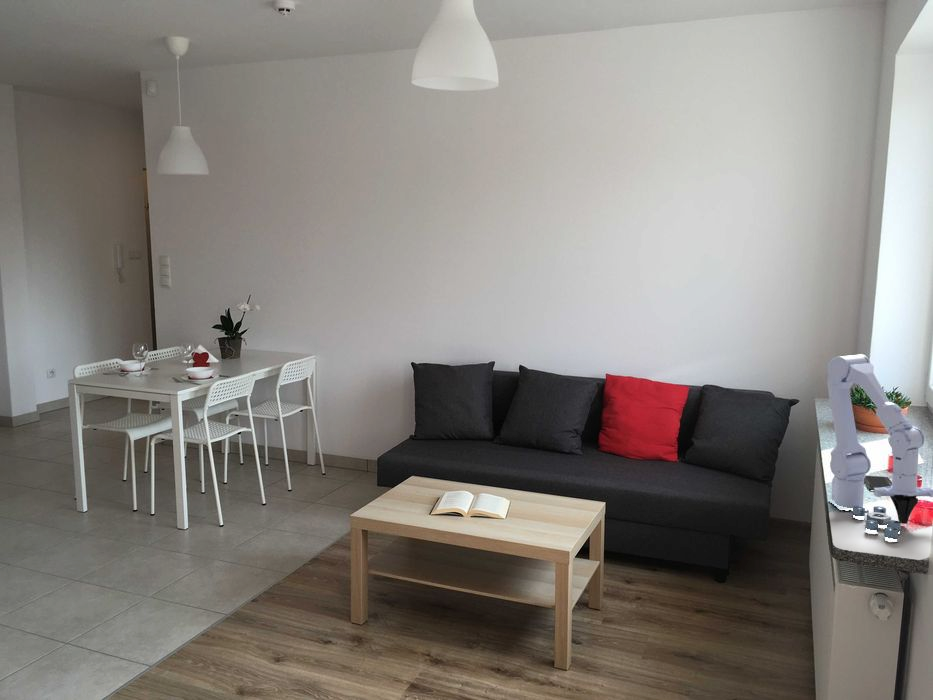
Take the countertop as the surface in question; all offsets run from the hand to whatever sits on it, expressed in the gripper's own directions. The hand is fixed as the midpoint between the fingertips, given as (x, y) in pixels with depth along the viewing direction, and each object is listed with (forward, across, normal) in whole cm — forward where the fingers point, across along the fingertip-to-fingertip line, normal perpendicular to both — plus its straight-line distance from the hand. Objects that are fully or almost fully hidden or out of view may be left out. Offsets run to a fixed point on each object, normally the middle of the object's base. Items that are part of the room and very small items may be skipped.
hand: (902, 522), depth 203 cm
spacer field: (+1, -7, -3) cm, 8 cm away
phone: (+2, +9, +37) cm, 38 cm away
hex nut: (+1, -6, 0) cm, 6 cm away
